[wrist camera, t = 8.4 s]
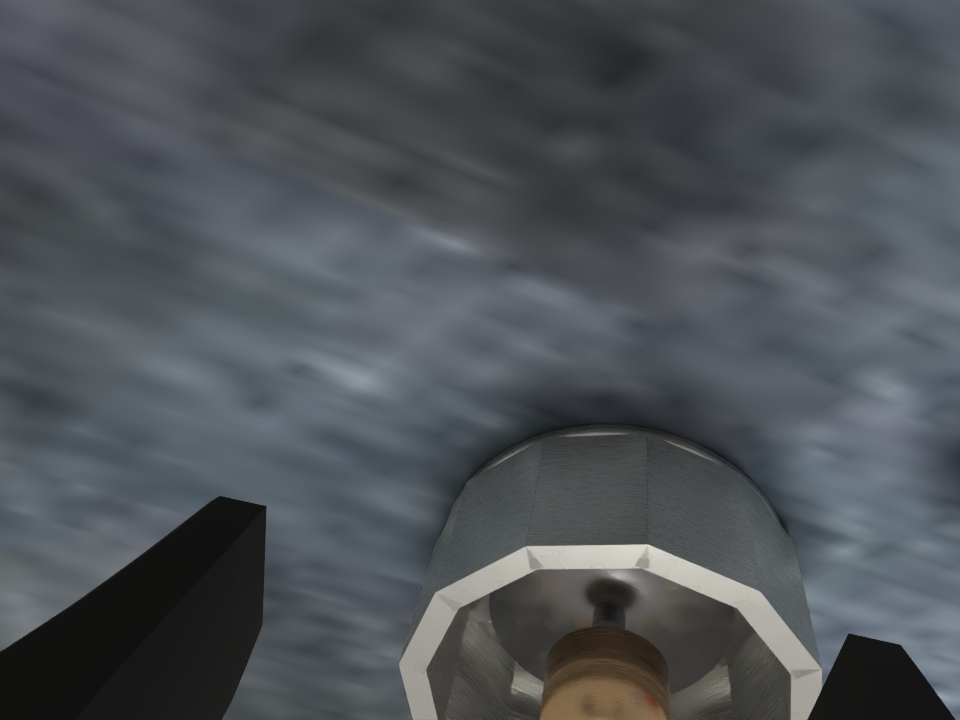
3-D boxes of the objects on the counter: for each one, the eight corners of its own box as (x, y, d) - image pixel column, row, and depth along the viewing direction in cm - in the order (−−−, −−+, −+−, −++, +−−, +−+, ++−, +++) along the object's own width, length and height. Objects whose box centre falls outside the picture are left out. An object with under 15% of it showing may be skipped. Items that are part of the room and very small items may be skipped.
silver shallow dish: (862, 514, 22) (910, 654, 18) (651, 776, 27) (652, 927, 24) (520, 367, 22) (492, 479, 18) (375, 664, 27) (330, 798, 23)
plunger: (780, 563, 22) (810, 721, 18) (663, 714, 25) (666, 878, 21) (548, 465, 21) (527, 603, 17) (458, 630, 24) (423, 780, 20)
